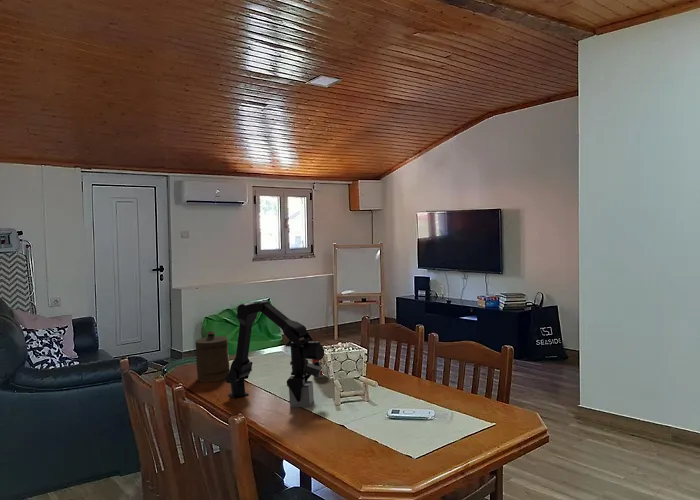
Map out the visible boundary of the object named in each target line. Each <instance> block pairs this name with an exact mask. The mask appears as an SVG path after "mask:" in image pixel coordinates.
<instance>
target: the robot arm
mask: <svg viewBox="0 0 700 500" xmlns="http://www.w3.org/2000/svg"><path fill="white" fill-rule="evenodd" d="M236 308H237V309H236V319H237V321H238V322H239V328H238V334H237V335H238V336H237V337H238V338H237V345H236V353H235V357H234V359H233V360H232V362H231V364H230V367H229V368H230V372H229V373H228V375H227V376H226V377H225V379H224V380H225V383H226V384H230V392H231V393H228V394H227V395H228V396H229V397H230V398H233V399H238V398H241V397H246V396H248V395H250V394H249V392H246V386H245V385H246V383H245V380H248V379H249V375H250V374H251V372H252V371H253V368H252V367H253V361H250V359H249V352H250V344H251V336H252V328H253V324H254V322H255V321H256V319H257V317H258V313H262V315H264V316H265V317H266V318H268V319H269V320H270V321H271V322H272V323H274V324H275V325H276V326H278V328H280V329H281V330H282V332H283V335H284V337H286V338H287V340H288V342H287V343H286V344H285V347H287V348H288V347H289V349H290V358H291V360H290V362H289V364H290V366H291V372H290V376H289V377H288V379H287V380H286V386H287V387H288V389H289V388H290V390H291V391H292V393H293V395H294V396H295V398H296V400H297V401H298V402H300V399H301V388H302V387H303V386H304V385H305V381H309V379H310V377H311V376H312V377H315V378H320V377H319V375H320V372H321V369H322V367H321V366H320V362H318V361H316V362H315V363H314V364H313V362H312V363H310V362H309V360H312V359H315V360H321V359H322V358H323V356H324V351H325V348H324V346H323V345H322V344H321V341H314V339H313V338H312V336H311V335H310V333H309V332H308V331H307V327H306V326H305V325H303V324H302V323H300V322H298V321H296V320H292V319H291V318H289V317H287V316H286V315H285V314H284V313H282V312H281V311H280V310H279V309H277V308H276V307H275V306H274V305H272V304H271V302H270V301H268V300H262V301H259V302H254V301H248V302H246V303H241V304H239V305H238V306H237V307H236Z"/></svg>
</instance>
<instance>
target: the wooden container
mask: <svg viewBox="0 0 700 500" xmlns="http://www.w3.org/2000/svg"><path fill="white" fill-rule="evenodd" d="M206 335H207V336H206V337H202V338H199V339H196V340H195V355H196V356H195V357H196V358H195V359H196V374H197V376H196V377H197V381H199V380H200V381H199V382H202V381H214V382H219V381H224V380H225V377H226V376H227V375H228V373H229V372H230V367H231V365H230V358H229V357H230V356H229V348H228V347H229V346H228V344H229V342H228V337H227V336H222V335H220V336H219V335H216V332H214V331H213V330H210V331H208V332H207V333H206ZM215 335H216V336H215Z"/></svg>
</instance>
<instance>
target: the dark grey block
mask: <svg viewBox="0 0 700 500" xmlns="http://www.w3.org/2000/svg"><path fill="white" fill-rule="evenodd" d="M313 382H314V381H313V380H307V381H305V385H304V386H303V387H302V388H301V399H300V402H298V401H297V400H296V398H295V396H294V395H293V393H292V391H291V390H290V388H289V387H288V394H289V407H290V408H310V407H311V406H312V405H313V403H314V401H315V397H314V383H313Z"/></svg>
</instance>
